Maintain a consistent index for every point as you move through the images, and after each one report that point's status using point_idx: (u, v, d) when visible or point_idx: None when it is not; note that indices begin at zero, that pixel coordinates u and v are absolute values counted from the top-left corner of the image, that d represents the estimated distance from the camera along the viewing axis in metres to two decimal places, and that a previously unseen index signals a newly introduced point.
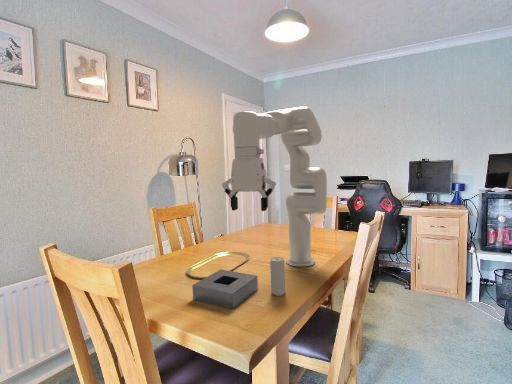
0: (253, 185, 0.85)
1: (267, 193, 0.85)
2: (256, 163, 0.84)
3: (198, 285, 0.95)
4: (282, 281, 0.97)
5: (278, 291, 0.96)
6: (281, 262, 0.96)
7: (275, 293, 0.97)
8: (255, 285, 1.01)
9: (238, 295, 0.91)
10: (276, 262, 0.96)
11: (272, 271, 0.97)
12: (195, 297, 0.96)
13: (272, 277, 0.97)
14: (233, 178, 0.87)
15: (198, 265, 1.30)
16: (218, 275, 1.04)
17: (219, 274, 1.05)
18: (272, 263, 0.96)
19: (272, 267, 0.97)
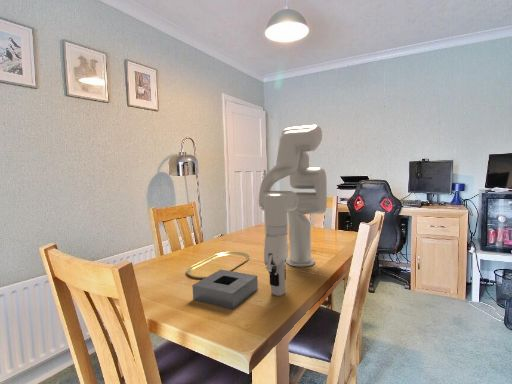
0: (286, 255, 0.99)
1: None
2: (286, 236, 0.99)
3: (198, 285, 0.95)
4: (282, 281, 0.97)
5: (278, 291, 0.96)
6: None
7: (275, 293, 0.97)
8: (255, 285, 1.01)
9: (238, 295, 0.91)
10: None
11: None
12: (195, 297, 0.96)
13: None
14: (278, 254, 0.93)
15: (198, 265, 1.30)
16: (218, 275, 1.04)
17: (219, 274, 1.05)
18: (272, 263, 0.96)
19: (272, 267, 0.96)
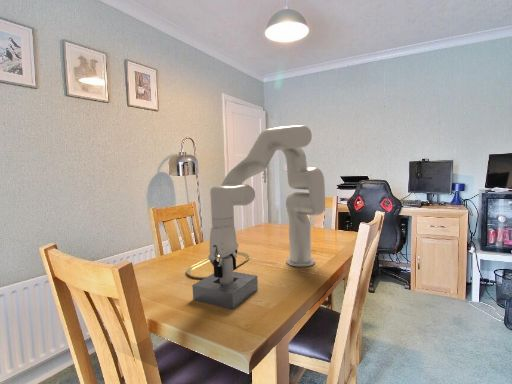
0: (233, 248, 0.99)
1: (235, 254, 1.03)
2: (234, 229, 1.00)
3: (198, 285, 0.95)
4: (230, 279, 0.98)
5: None
6: (228, 260, 0.97)
7: None
8: (255, 285, 1.01)
9: (238, 295, 0.91)
10: (223, 260, 0.97)
11: None
12: (195, 297, 0.96)
13: None
14: (223, 246, 0.94)
15: (198, 265, 1.30)
16: None
17: None
18: None
19: None
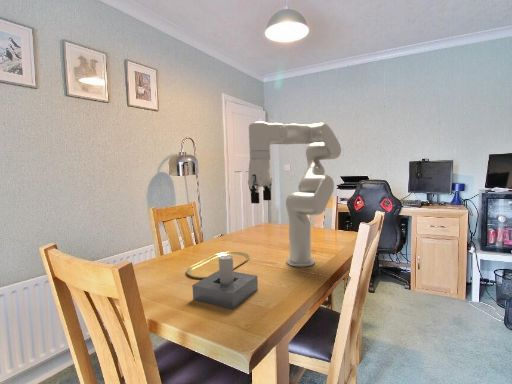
0: (268, 180, 1.09)
1: None
2: (269, 164, 1.10)
3: (198, 285, 0.95)
4: (230, 279, 0.97)
5: None
6: (229, 260, 0.97)
7: None
8: (255, 285, 1.01)
9: (238, 295, 0.91)
10: (223, 260, 0.97)
11: (220, 269, 0.98)
12: (195, 297, 0.96)
13: (220, 275, 0.98)
14: (261, 175, 1.04)
15: (198, 265, 1.30)
16: (218, 275, 1.04)
17: (219, 274, 1.05)
18: (220, 261, 0.97)
19: (220, 265, 0.97)
